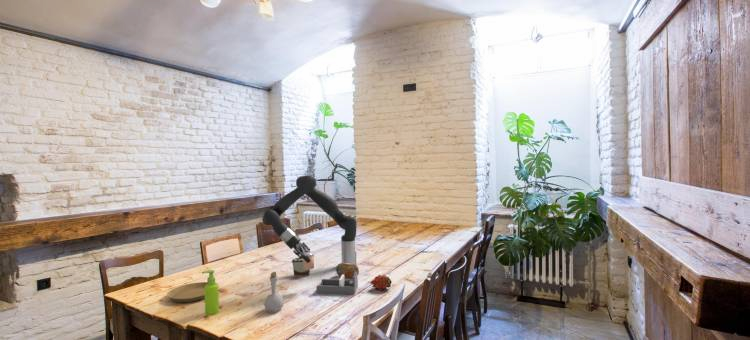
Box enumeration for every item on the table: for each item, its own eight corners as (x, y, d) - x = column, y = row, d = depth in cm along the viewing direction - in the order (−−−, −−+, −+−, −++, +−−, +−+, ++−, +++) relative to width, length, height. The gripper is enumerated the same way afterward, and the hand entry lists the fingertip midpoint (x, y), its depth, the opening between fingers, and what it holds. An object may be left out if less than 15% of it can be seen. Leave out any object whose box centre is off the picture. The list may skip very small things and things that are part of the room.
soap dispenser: (205, 310, 168) (204, 269, 167) (220, 309, 168) (219, 268, 168) (200, 316, 162) (199, 273, 161) (216, 315, 163) (215, 272, 162)
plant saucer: (171, 291, 194) (171, 285, 194) (219, 285, 203) (219, 279, 203) (162, 308, 172) (162, 301, 172) (216, 300, 180) (216, 294, 180)
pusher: (339, 290, 188) (339, 279, 188) (342, 285, 196) (342, 274, 196) (341, 290, 188) (341, 279, 188) (344, 285, 196) (344, 274, 196)
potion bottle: (287, 307, 171) (286, 270, 170) (276, 315, 162) (275, 276, 162) (271, 305, 174) (271, 268, 173) (260, 312, 165) (259, 274, 165)
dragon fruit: (393, 292, 192) (371, 295, 193) (392, 279, 199) (371, 282, 200) (391, 283, 187) (369, 286, 188) (390, 270, 194) (368, 273, 194)
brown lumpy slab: (335, 276, 216) (335, 262, 215) (338, 274, 218) (338, 261, 218) (357, 279, 209) (356, 265, 208) (359, 278, 211) (359, 264, 211)
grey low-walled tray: (316, 293, 188) (316, 276, 188) (322, 285, 199) (321, 270, 199) (354, 294, 186) (354, 277, 186) (357, 287, 197) (357, 271, 196)
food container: (313, 272, 222) (313, 257, 222) (311, 276, 216) (311, 260, 215) (295, 272, 223) (294, 256, 223) (291, 275, 217) (291, 259, 217)
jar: (311, 265, 198) (311, 251, 198) (315, 268, 193) (315, 253, 193) (301, 267, 195) (300, 252, 195) (305, 270, 190) (304, 255, 189)
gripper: (290, 236, 187) (312, 259, 186) (298, 230, 201) (319, 251, 200) (280, 246, 188) (302, 268, 187) (290, 240, 202) (310, 260, 201)
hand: (311, 259), depth 193 cm, fingers closed on jar, 6 cm apart
